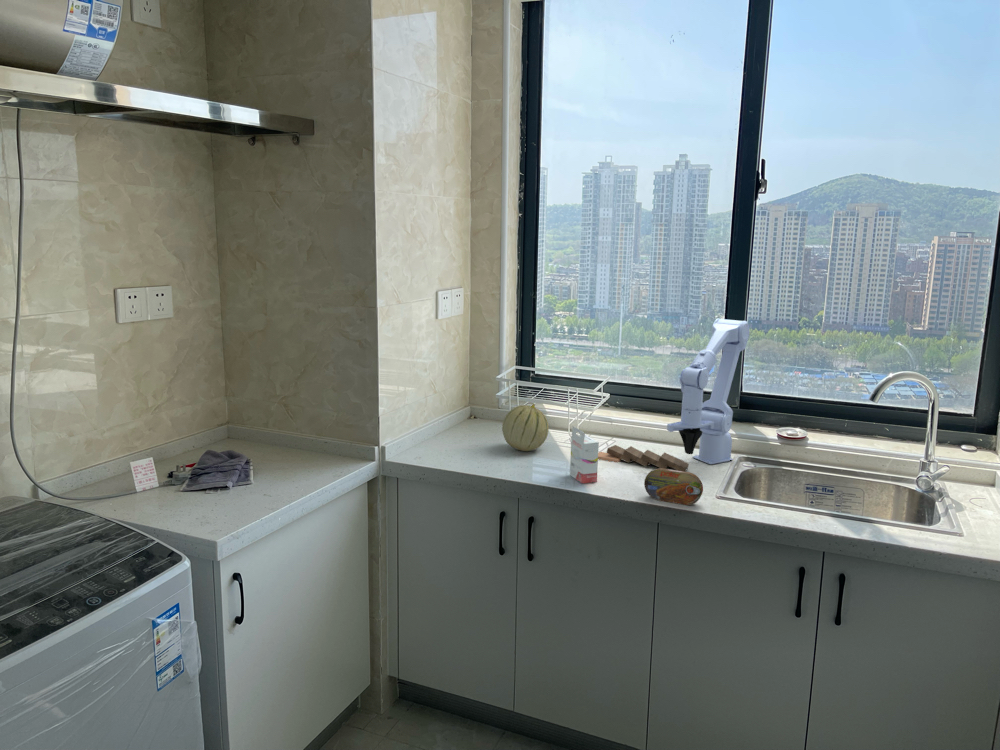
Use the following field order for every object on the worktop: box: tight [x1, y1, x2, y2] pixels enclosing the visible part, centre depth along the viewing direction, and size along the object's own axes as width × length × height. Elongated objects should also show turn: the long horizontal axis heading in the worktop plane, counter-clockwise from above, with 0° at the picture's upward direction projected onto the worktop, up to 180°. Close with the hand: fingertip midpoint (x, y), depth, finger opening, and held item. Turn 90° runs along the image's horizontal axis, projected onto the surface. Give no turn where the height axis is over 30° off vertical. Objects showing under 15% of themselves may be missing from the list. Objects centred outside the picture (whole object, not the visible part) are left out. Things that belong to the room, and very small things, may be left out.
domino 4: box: [641, 449, 670, 469], centre depth 221 cm, size 2×5×8 cm
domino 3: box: [623, 446, 651, 467], centre depth 224 cm, size 2×5×8 cm
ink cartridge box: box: [569, 425, 600, 484], centre depth 208 cm, size 9×5×15 cm, turn 20°
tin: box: [643, 467, 704, 506], centre depth 192 cm, size 15×3×8 cm, turn 62°
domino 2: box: [606, 444, 635, 464], centre depth 227 cm, size 2×5×8 cm
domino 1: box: [598, 451, 623, 463], centre depth 228 cm, size 2×5×8 cm
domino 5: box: [658, 452, 690, 472], centre depth 218 cm, size 2×5×8 cm
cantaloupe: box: [501, 403, 550, 452], centre depth 234 cm, size 15×15×15 cm
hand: (688, 453), depth 216 cm, fingers closed
